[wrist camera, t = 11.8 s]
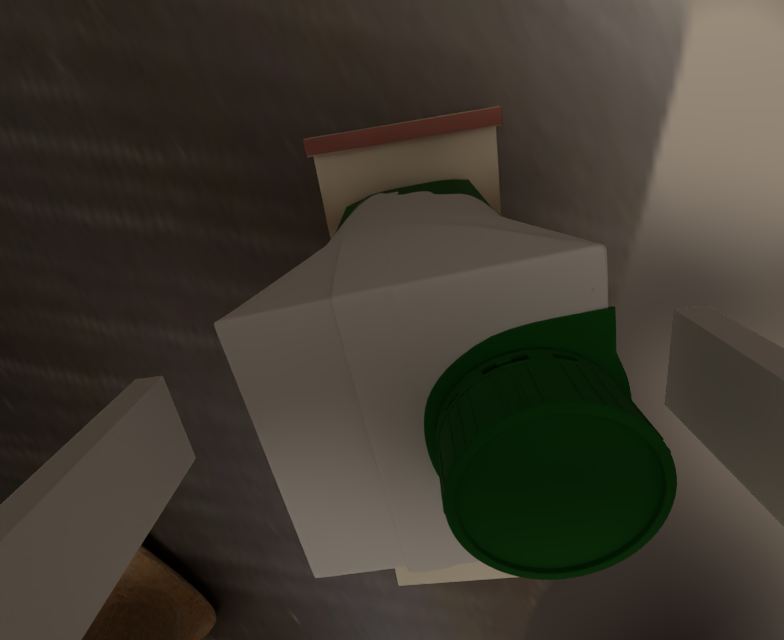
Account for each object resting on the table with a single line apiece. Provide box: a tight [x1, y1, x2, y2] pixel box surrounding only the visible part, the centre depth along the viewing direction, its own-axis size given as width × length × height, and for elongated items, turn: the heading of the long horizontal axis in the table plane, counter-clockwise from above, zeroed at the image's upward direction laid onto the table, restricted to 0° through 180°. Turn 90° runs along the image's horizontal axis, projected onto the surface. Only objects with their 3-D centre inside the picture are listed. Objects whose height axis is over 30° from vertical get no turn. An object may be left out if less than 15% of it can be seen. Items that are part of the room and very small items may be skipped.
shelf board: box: [303, 106, 502, 239], centre depth 28 cm, size 22×10×4 cm, turn 9°
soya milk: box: [214, 179, 677, 580], centre depth 17 cm, size 9×9×20 cm
